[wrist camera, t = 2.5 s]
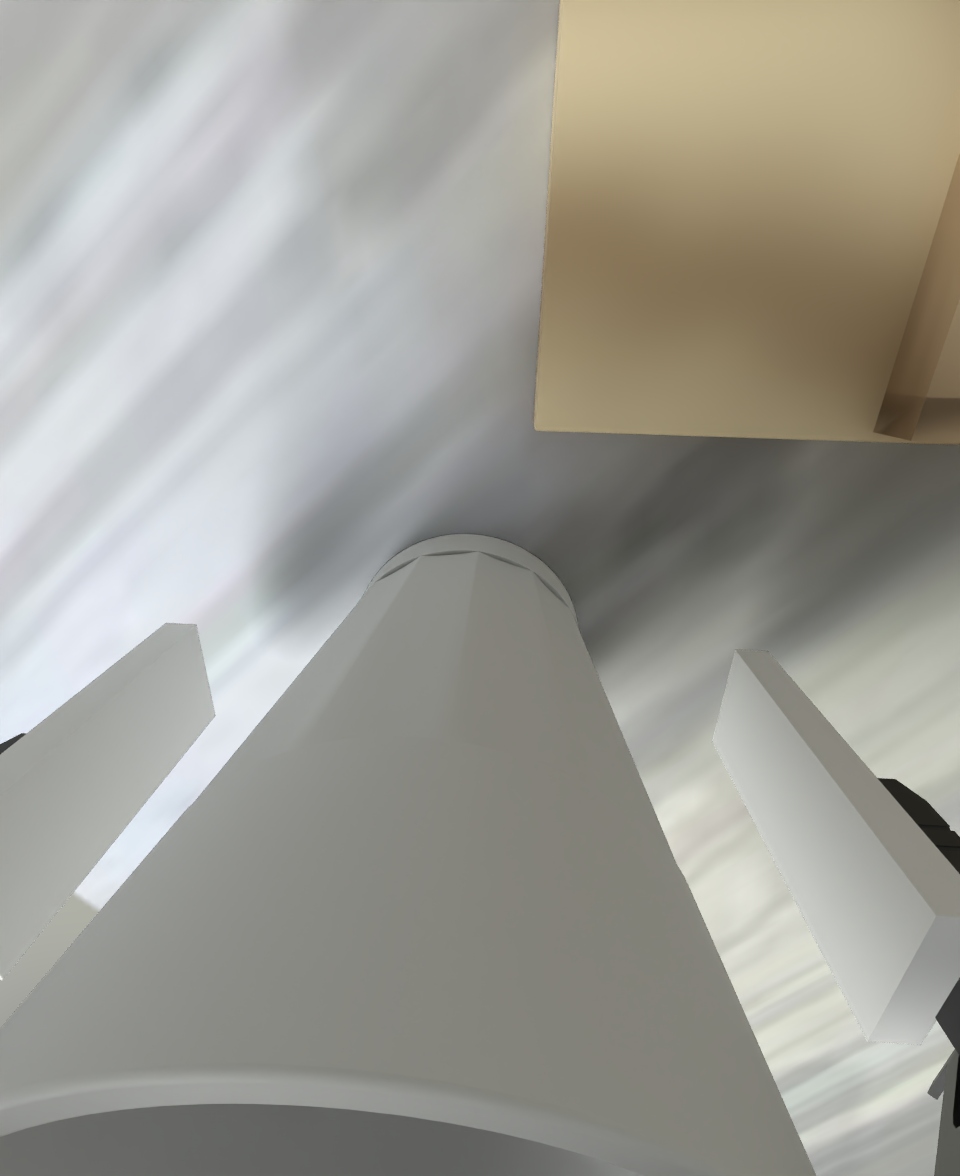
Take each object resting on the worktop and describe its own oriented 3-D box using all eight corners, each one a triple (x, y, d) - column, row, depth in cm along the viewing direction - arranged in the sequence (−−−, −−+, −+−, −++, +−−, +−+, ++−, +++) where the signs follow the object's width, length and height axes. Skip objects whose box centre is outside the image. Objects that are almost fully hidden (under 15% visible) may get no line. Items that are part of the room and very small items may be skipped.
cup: (621, 503, 14) (1075, 1123, 3) (596, 752, 17) (758, 1497, 6) (311, 502, 14) (-385, 1040, 3) (345, 746, 17) (60, 1434, 6)
